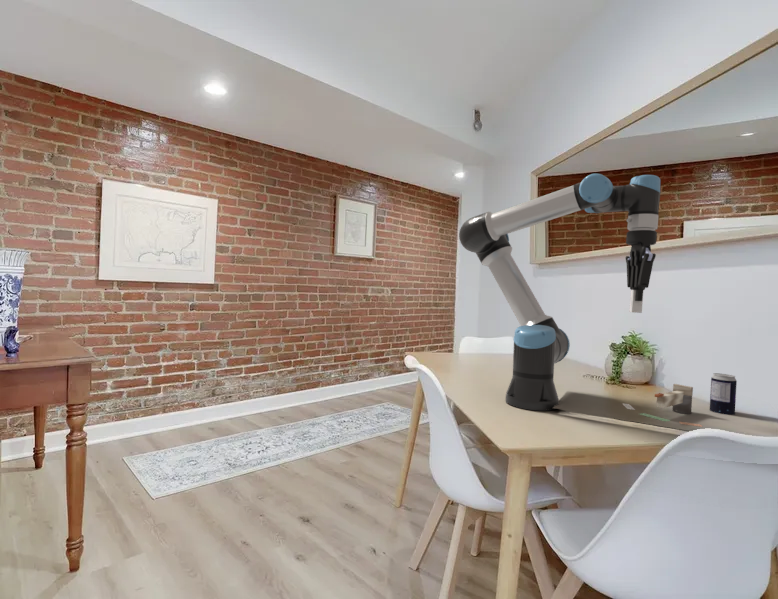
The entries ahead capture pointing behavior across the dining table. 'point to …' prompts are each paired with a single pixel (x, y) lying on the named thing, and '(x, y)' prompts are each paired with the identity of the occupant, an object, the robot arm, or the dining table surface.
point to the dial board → (657, 418)
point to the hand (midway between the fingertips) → (635, 312)
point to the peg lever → (677, 399)
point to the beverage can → (723, 394)
